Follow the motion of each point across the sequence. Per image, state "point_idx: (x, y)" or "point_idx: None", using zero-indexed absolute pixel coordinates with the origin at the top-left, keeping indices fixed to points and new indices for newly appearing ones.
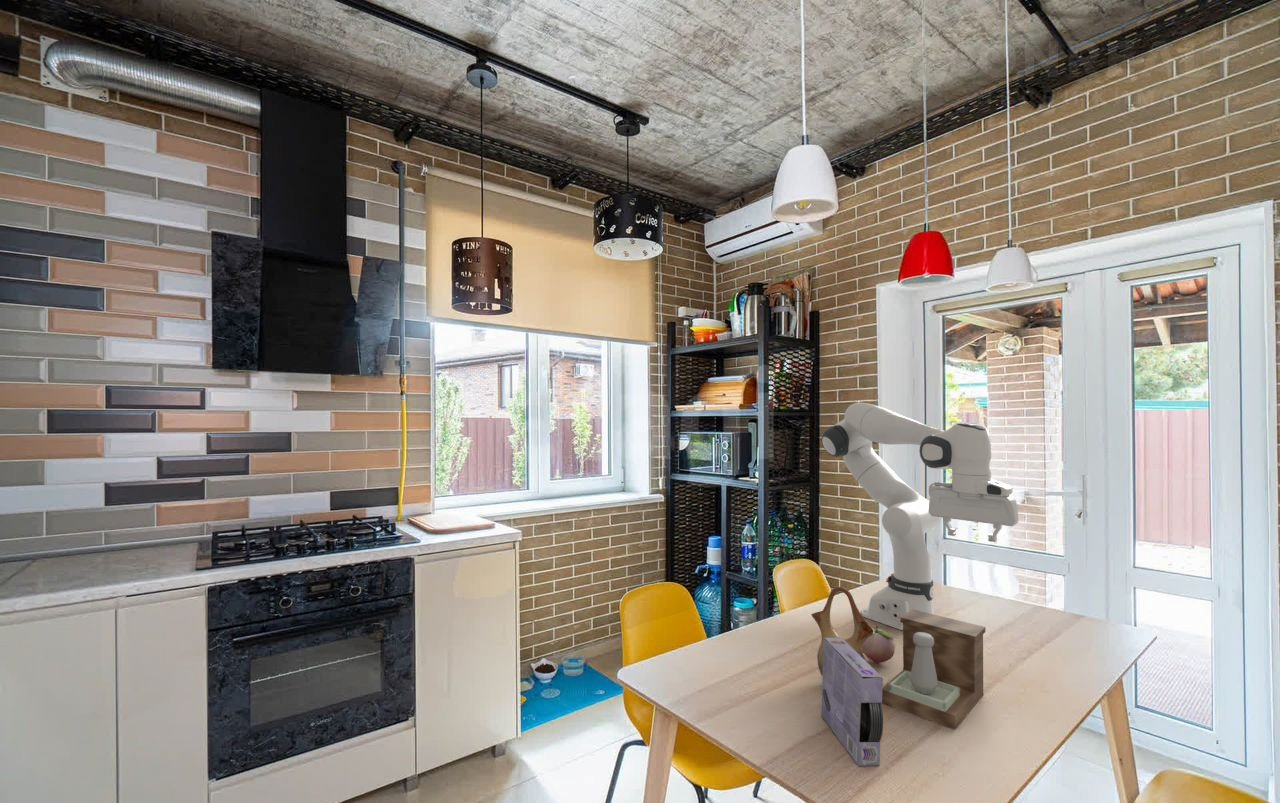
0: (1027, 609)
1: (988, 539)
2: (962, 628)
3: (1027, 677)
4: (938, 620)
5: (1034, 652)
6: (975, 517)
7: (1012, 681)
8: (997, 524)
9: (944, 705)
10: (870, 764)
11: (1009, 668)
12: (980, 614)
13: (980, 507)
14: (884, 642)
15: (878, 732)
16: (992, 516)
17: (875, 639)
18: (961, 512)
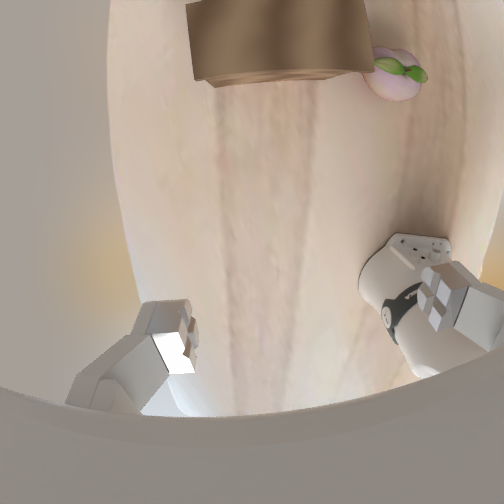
0: (284, 404)
1: (183, 302)
2: (228, 25)
3: (197, 209)
4: (295, 34)
5: (228, 303)
6: (303, 463)
7: (205, 175)
8: (60, 403)
9: None
10: None
11: (227, 220)
12: (322, 364)
13: None
14: (378, 51)
15: None
16: (61, 484)
17: (393, 51)
18: (502, 437)
